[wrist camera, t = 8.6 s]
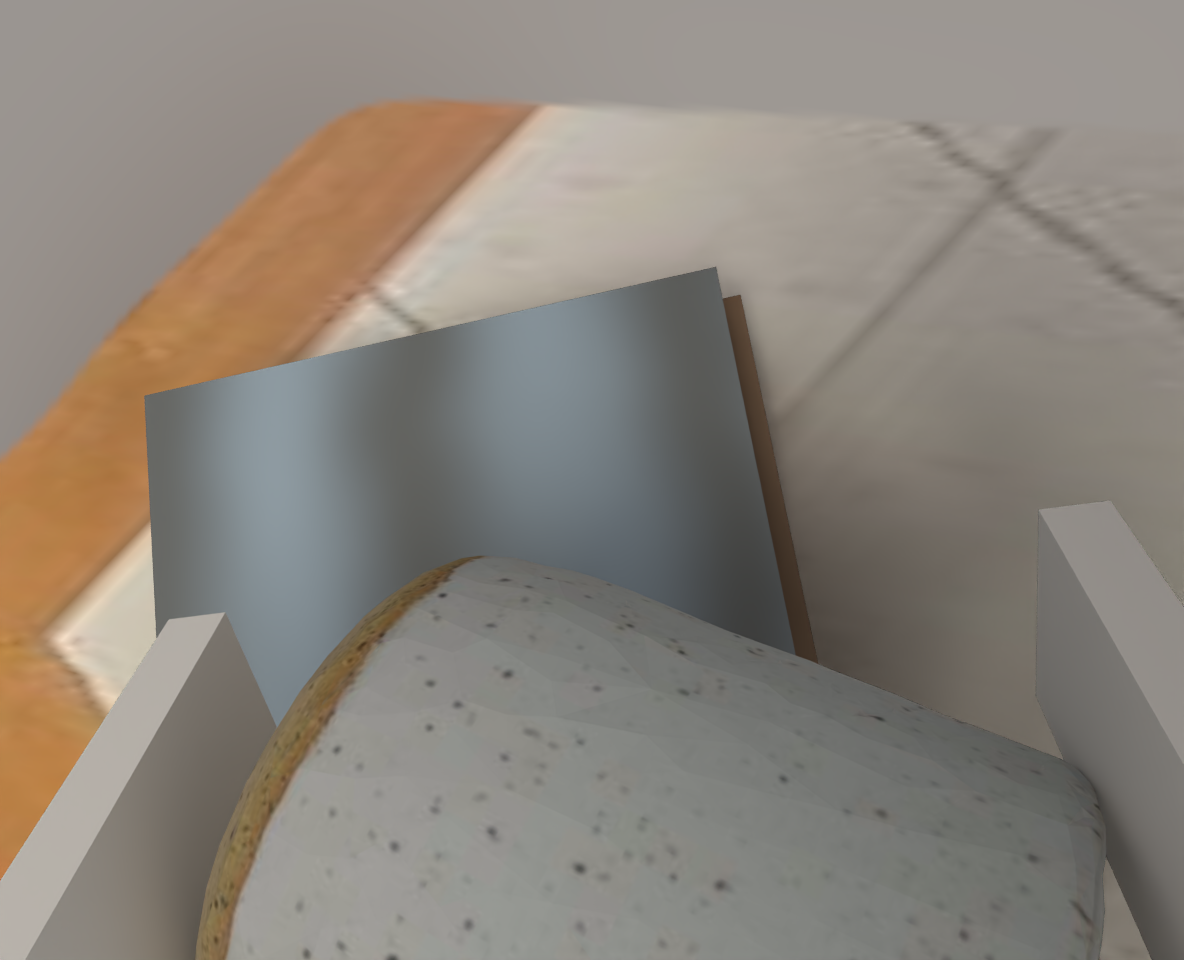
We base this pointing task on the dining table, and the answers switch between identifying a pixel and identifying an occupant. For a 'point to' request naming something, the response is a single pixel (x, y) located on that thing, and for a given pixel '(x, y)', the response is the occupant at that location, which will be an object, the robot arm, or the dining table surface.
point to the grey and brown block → (478, 473)
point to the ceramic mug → (634, 799)
